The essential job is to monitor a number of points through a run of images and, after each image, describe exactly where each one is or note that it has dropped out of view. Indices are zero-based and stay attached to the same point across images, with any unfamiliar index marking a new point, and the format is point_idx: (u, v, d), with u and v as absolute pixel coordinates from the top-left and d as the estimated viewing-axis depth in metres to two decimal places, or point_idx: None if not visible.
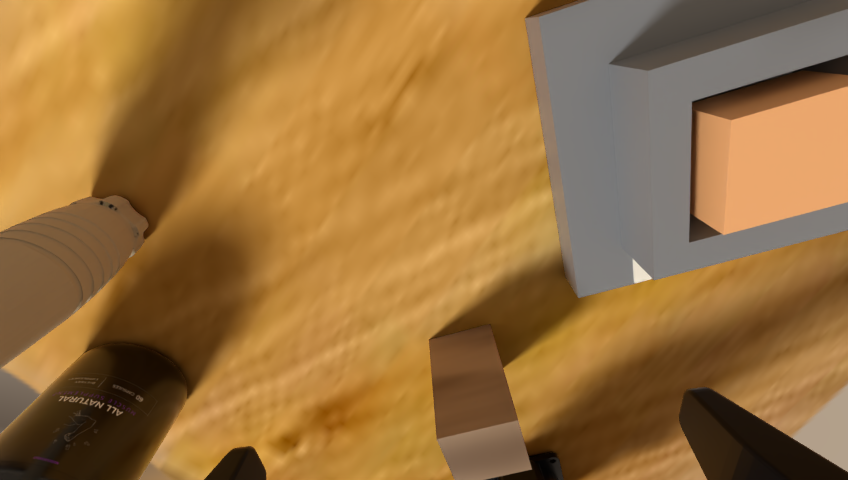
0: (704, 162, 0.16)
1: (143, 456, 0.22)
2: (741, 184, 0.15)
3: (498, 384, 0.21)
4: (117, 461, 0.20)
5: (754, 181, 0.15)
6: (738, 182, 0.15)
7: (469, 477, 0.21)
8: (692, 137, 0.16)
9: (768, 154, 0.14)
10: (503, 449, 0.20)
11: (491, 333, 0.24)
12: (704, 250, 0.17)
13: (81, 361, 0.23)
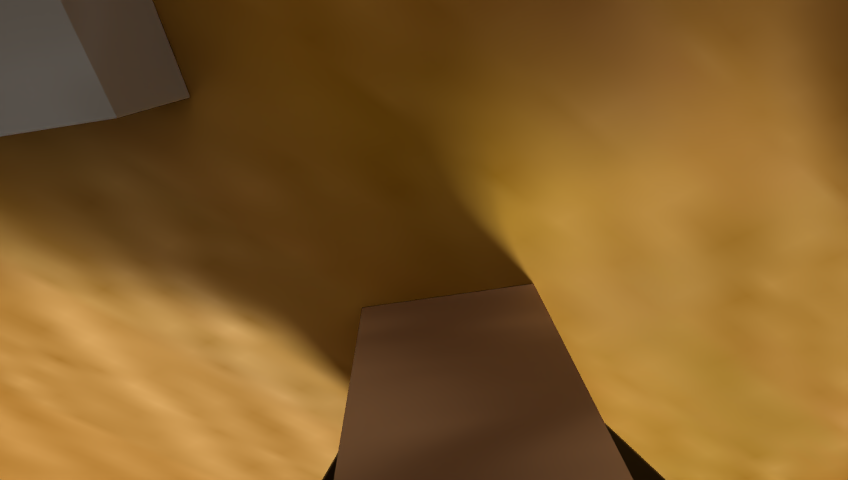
0: None
1: None
2: None
3: None
4: None
5: None
6: None
7: None
8: None
9: None
10: None
11: None
12: None
13: None
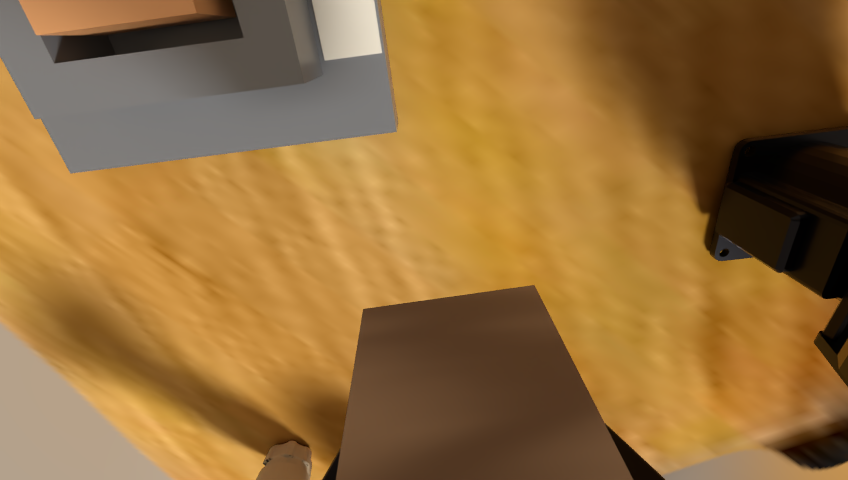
0: (131, 26, 0.12)
1: None
2: (116, 1, 0.11)
3: None
4: None
5: None
6: (114, 6, 0.11)
7: None
8: (122, 30, 0.13)
9: None
10: None
11: (360, 337, 0.09)
12: (257, 9, 0.12)
13: None
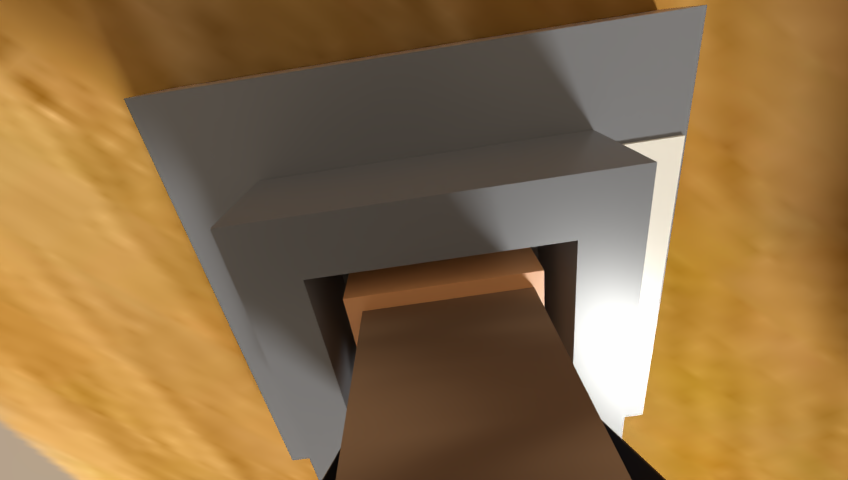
0: None
1: None
2: None
3: None
4: None
5: None
6: None
7: None
8: None
9: None
10: None
11: (359, 339, 0.09)
12: None
13: None
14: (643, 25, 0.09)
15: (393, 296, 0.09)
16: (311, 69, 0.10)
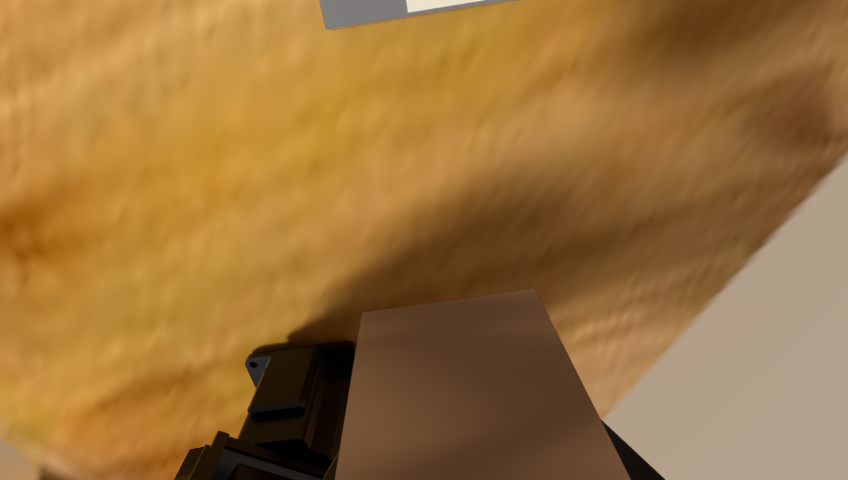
0: None
1: None
2: None
3: None
4: None
5: None
6: None
7: None
8: None
9: None
10: None
11: (358, 340, 0.09)
12: None
13: None
14: None
15: None
16: None
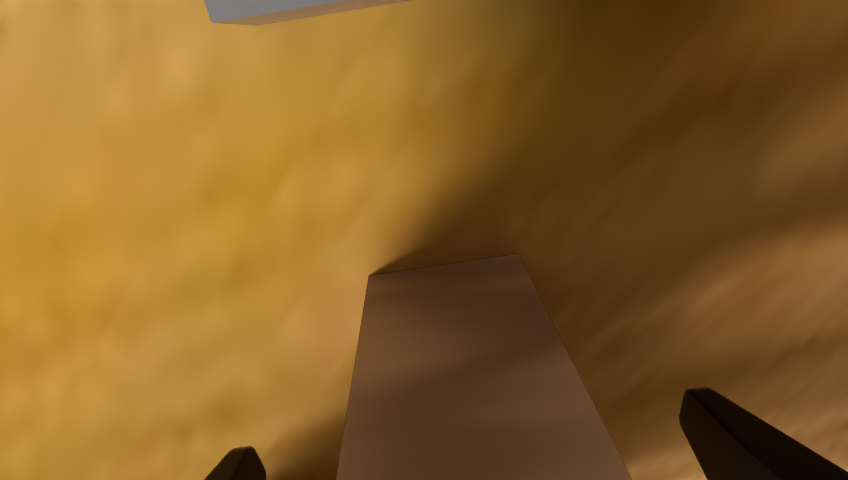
0: None
1: None
2: None
3: None
4: None
5: None
6: None
7: None
8: None
9: None
10: None
11: (366, 297, 0.10)
12: None
13: None
14: None
15: None
16: None
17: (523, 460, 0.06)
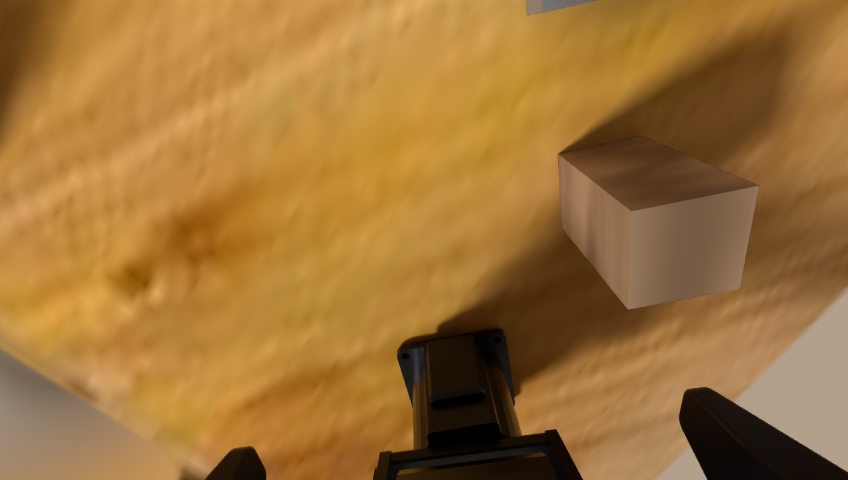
0: None
1: None
2: None
3: (600, 198, 0.15)
4: None
5: None
6: None
7: (729, 273, 0.14)
8: None
9: None
10: (688, 229, 0.13)
11: (564, 160, 0.18)
12: None
13: None
14: None
15: None
16: None
17: (689, 179, 0.14)
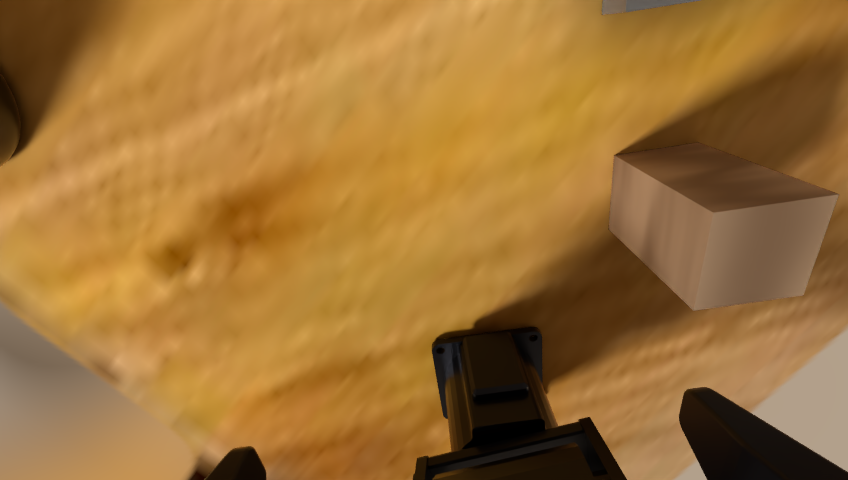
0: None
1: None
2: None
3: (670, 199, 0.15)
4: None
5: None
6: None
7: (796, 279, 0.14)
8: None
9: None
10: (765, 234, 0.13)
11: (622, 162, 0.18)
12: None
13: None
14: None
15: None
16: None
17: (763, 185, 0.14)
